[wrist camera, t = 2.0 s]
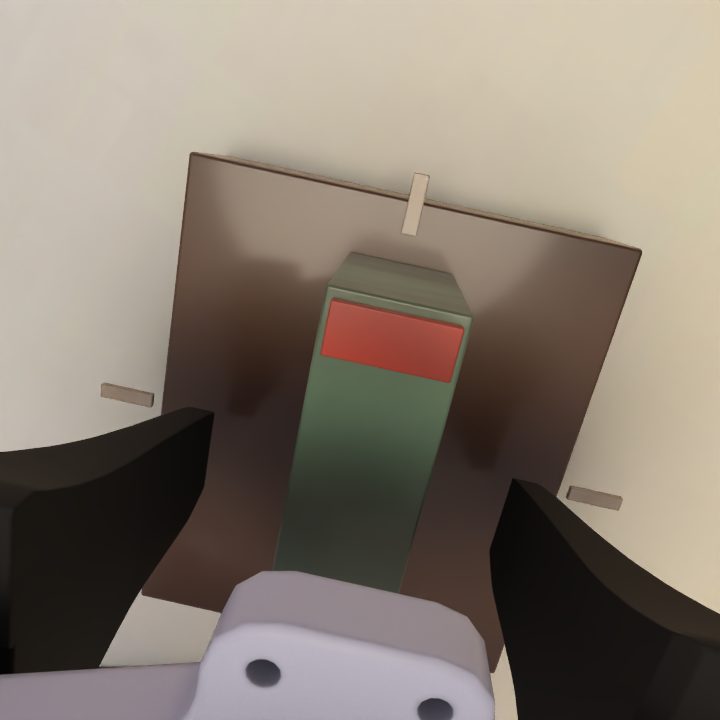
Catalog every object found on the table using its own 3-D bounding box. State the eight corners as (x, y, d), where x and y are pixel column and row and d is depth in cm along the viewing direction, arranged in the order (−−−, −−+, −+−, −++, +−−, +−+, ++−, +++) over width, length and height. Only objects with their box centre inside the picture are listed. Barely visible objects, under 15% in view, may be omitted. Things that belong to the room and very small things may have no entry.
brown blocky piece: (522, 630, 21) (542, 706, 18) (130, 542, 21) (84, 604, 18) (667, 228, 17) (725, 239, 14) (173, 121, 17) (121, 109, 14)
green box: (369, 606, 17) (356, 757, 13) (282, 587, 17) (240, 730, 13) (454, 274, 14) (476, 319, 10) (349, 251, 14) (324, 286, 10)
